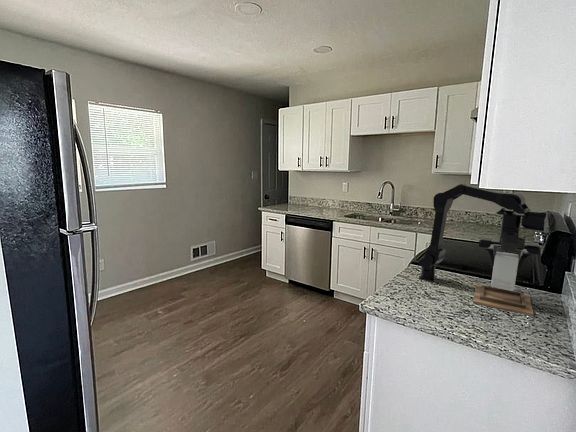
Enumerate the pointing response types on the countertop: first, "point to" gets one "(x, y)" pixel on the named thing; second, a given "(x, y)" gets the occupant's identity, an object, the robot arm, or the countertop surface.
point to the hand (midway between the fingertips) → (505, 267)
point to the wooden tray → (503, 299)
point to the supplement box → (505, 270)
